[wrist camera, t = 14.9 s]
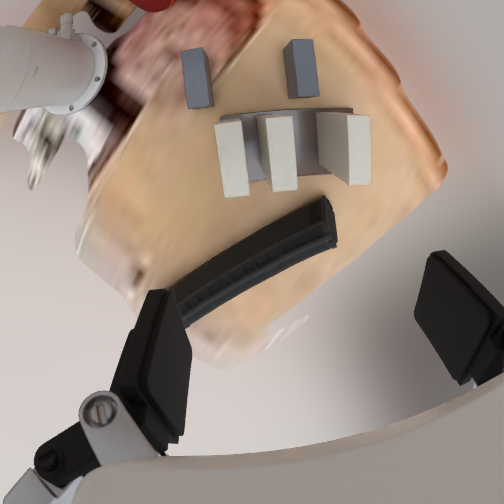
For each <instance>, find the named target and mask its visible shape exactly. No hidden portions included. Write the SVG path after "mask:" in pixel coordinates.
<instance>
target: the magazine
mask: <svg viewBox="0 0 504 504" xmlns="http://www.w3.org/2000/svg"><path fill="white" fill-rule="evenodd" d="M332 209H333V208H332V206H331V204H330V202H329V200H328V199H327V198H326V196H325V195H324V196H322V198H320V199H318V200H316V201H314V202H312V203H310V204H308V205H307V206H305V207H303V208H301V209H299V210H297V211H295V212H293V213H291V214H289V215H287V216H285V217H283V218H281V219H279V220H278V221H276V222H274V223H272V224H270V225H268V226H267V227H265V228H263V229H261V230H259V231H258V232H256V233H254V234H252V235H251V236H249V237H247V238H245V239H244V240H242V241H240V242H239V243H237V244H235V245H234V246H232V247H230V248H229V249H227V250H226V251H224V252H222V253H221V254H219V255H218V256H216V257H215V258H213V259H212V260H210V261H209V262H207V263H206V264H204V265H203V266H201V267H200V268H198V269H197V270H196V271H194V272H193V273H191V274H190V275H189V276H187V277H186V278H184V279H183V280H182V281H180V282H179V283H177V284H176V285H175V286H173V287H172V288H170V289H169V290H168V291H167V292H171V293H172V294H173V296H174V299H175V302H176V305H177V308H178V311H179V314H180V317H181V320H182V323H183V326H184V328H185V329H186V328H188V327H190V326H189V325H191V324H192V323H194V322H195V321H197V320H199V319H200V318H202V317H203V316H205V315H206V314H208V313H209V312H211V311H212V310H214V309H216V308H217V307H219V306H220V305H222V304H224V303H225V302H227V301H229V300H231V299H232V298H234V297H236V296H237V295H239V294H241V293H242V292H244V291H246V290H248V289H249V288H251V287H253V286H255V285H257V284H259V283H261V282H263V281H265V280H266V279H268V278H270V277H272V276H274V275H276V274H278V273H280V272H282V271H283V270H285V269H287V268H289V267H291V266H293V265H295V264H297V263H299V262H301V261H303V260H305V259H307V258H310V257H312V256H314V255H316V254H319V253H321V252H324V251H326V250H329V249H331V248H332V249H333V248H336V247H337V246H336V243H337V242H338V239H337V231H336V222H335V215H334V212H333V210H332Z"/></svg>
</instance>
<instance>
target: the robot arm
mask: <svg viewBox="0 0 504 504" xmlns="http://www.w3.org/2000/svg"><path fill="white" fill-rule="evenodd" d="M72 24H73V13H65V14H63V15H61V17H60V27H61V33H59V35H58V36H57V27H53V28H50V29H49V30H48V33H44V32H40V31H36V30H32V29H27V28H22V27H17V26H10V25H7V26H0V113H4V112H9V111H15V110H22V109H29V108H37V107H44V108H45V109H46V110H47V111H48V112H50V113H52V114H56V115H68V114H72V113H75V112H78V111H79V110H81V109H83V108H84V107H85V106H87V105H88V104H89V103H90V102H91V101H92V100H93V99H94V98H95V97H96V95H97V94H98V92H99V91H100V89H101V87H102V85H103V83H104V80H105V77H106V74H107V68H108V57H107V51H106V49H105V47H104V45H103V44H102V42H101V41H100V40H99V39H97V38H96V37H94V36H92V35H89V34H84V33H77V34H75V30H74V29H72ZM99 78H100V80H99ZM73 107H74V108H73ZM414 317H415V320H416V321H417V323H418V324H419V326H420V327H421V329H422V330H423V331H424V333H425V335H426V336H427V338H428V339H429V341H430V342H431V344H432V345H433V347H434V348H435V350H436V352H437V353H438V355H439V356H440V358H441V360H442V361H443V363H444V364H445V366H446V368H447V369H448V371H449V373H450V375H451V376H452V378H453V379H455V380H457V382H458V384H459V385H460V386H461V385H463V384H465V383H467V382H469V381H470V380H471V378H473V379H474V385H473V390H471V391H469V392H467V393H465V394H463V395H461V396H459V397H457V398H455V399H453V400H450V401H449V402H446V403H444V404H442V405H439V406H437V407H435V408H432V409H430V410H428V411H425V412H423V413H420V414H418V415H416V416H413V417H410V418H407V419H404V420H402V421H399V422H397V423H393V424H390V425H387V426H384V427H381V428H378V429H374V430H371V431H368V432H364V433H360V434H357V435H353V436H349V437H345V438H341V439H337V440H332V441H328V442H324V443H318V444H313V445H308V446H302V447H296V448H290V449H283V450H275V451H266V452H257V453H246V454H234V455H213V456H169V455H168V454H167V453H166V452H165V451H166V450H167V449H168V443H172V444H178V441H179V436H183V434H184V428H185V417H186V407H187V396H188V388H189V378H190V368H191V362H192V348H191V345H190V342H189V339H188V337H187V334H186V331H185V328H184V326H183V323H182V320H181V317H180V314H179V311H178V308H177V305H176V302H175V299H174V296H173V294H172V293H171V292H167V290H166V289H156V290H149V291H148V293H147V296H146V298H145V301H144V304H143V306H142V309H141V311H140V314H139V317H138V319H137V322H136V325H135V328H134V329H132V330H131V331H130V333H129V335H128V337H127V340H126V343H125V346H124V348H123V351H122V354H121V357H120V360H119V363H118V366H117V369H116V372H115V375H114V378H113V381H112V384H111V387H110V391H97V392H95V393H93V394H91V395H89V396H88V397H87V398H86V399H85V400H84V401H83V402H82V404H81V406H80V409H79V420H80V421H79V422H77V423H76V424H74V425H73V426H71V427H69V428H68V429H66V430H65V431H63V432H62V433H60V434H58V435H57V436H55V437H54V438H52V439H50V440H49V441H47V442H45V443H44V444H43V445H41V446H40V447H39V448H38V450H37V451H36V454H35V457H34V466H35V468H34V469H32V468H29V469H28V470H27V471H26V472H25V473H24V475H23V476H22V477H21V478H20V479H19V481H18V482H17V483H16V484H15V485H14V487H13V488H12V489H11V490H10V491H9V492H8V494H7V495H6V496H5V498H4V500H3V504H504V307H503V306H502V305H501V304H500V303H499V302H498V301H497V299H496V298H495V297H494V296H493V295H492V294H491V293H490V292H489V291H488V290H487V289H486V288H485V287H484V286H483V285H482V284H481V283H480V282H479V281H478V280H477V279H476V278H475V277H474V276H473V275H472V274H471V273H470V272H468V270H466V268H464V267H463V266H462V265H461V264H460V263H459V262H458V261H457V260H456V259H455V258H454V257H452V256H451V255H450V254H449V253H448V252H447V251H445V250H441V251H435V252H432V253H431V254H430V256H429V257H428V258H427V262H426V266H425V271H424V275H423V279H422V284H421V288H420V292H419V295H418V299H417V303H416V306H415V310H414Z"/></svg>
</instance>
